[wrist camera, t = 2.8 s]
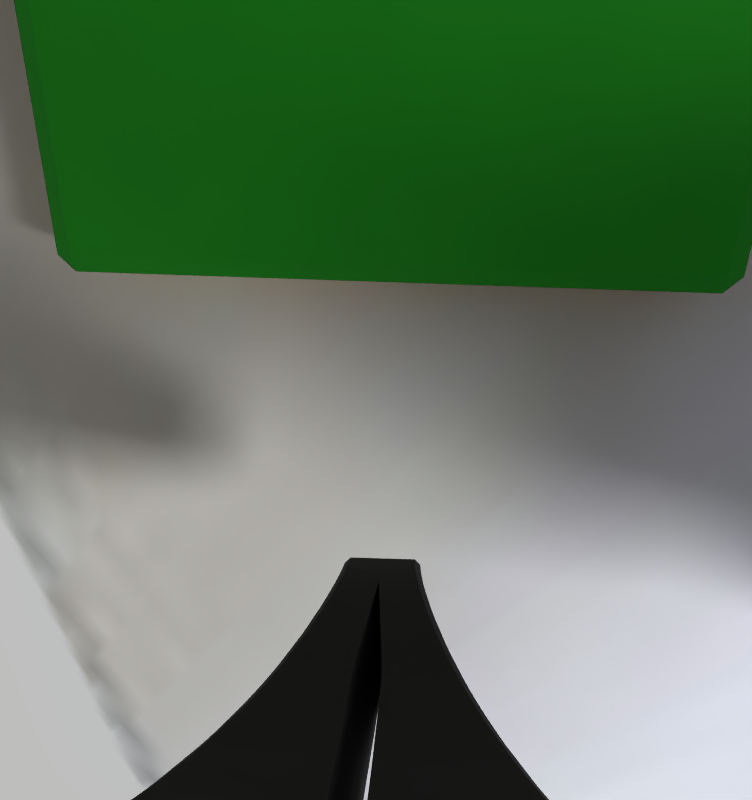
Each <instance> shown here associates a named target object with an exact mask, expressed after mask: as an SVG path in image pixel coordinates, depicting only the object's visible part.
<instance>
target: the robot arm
mask: <svg viewBox="0 0 752 800" xmlns="http://www.w3.org/2000/svg"><path fill="white" fill-rule="evenodd" d="M377 713H378V717H377ZM376 719H377V726H376V735H375V743H374V752H373V761H372V769H371V777H370V785H369V793H368V800H549V799H548V798H547V797H546V796H545V795H544V793H543V792H542V791H541V790H540V789H539V788H538V787H537V785H536V784H535V783H534V781H533V780H532V779H531V777H530V776H529V775H528V774H527V772H526V771H525V770H524V768H523V767H522V766H521V765H520V763H519V762H518V761H517V759H516V758H515V757H514V755H513V754H512V753H511V752H510V750H509V749H508V748H507V746H506V745H505V744H504V742H503V741H502V740H501V738H500V737H499V735H498V734H497V732H496V731H495V729H494V728H493V726H492V725H491V723H490V722H489V720H488V719H487V717H486V716H485V714H484V713H483V711H482V709H481V708H480V706H479V705H478V703H477V702H476V700H475V698H474V697H473V695H472V693H471V691H470V690H469V688H468V686H467V684H466V683H465V681H464V679H463V677H462V675H461V674H460V672H459V670H458V668H457V666H456V664H455V662H454V660H453V658H452V656H451V654H450V652H449V650H448V648H447V646H446V644H445V641H444V639H443V637H442V634H441V632H440V630H439V627H438V625H437V623H436V620H435V618H434V615H433V613H432V610H431V607H430V604H429V601H428V598H427V595H426V592H425V589H424V585H423V581H422V576H421V570H420V564H419V563H418V562H417V561H416V560H412V559H379V558H350V559H349V560H348V561H346V562H345V564H344V566H343V569H342V571H341V573H340V575H339V577H338V578H337V580H336V582H335V584H334V586H333V587H332V589H331V591H330V593H329V594H328V596H327V598H326V599H325V601H324V602H323V604H322V606H321V607H320V609H319V610H318V612H317V613H316V615H315V616H314V618H313V619H312V621H311V622H310V624H309V625H308V627H307V628H306V630H305V631H304V632H303V634H302V635H301V637H300V638H299V639H298V640H297V642H296V643H295V644H294V646H293V647H292V648H291V650H290V651H289V652H288V653H287V655H286V656H285V657H284V659H283V660H282V661H281V663H280V664H279V665H278V666H277V668H276V669H275V670H274V671H273V672H272V673H271V675H270V676H269V677H268V678H267V679H266V680H265V682H264V683H263V684H262V685H261V686H260V687H259V688H258V689H257V690H256V692H255V693H254V694H253V695H252V696H251V697H250V698H249V699H248V700H247V701H246V702H245V703H244V704H243V705H242V706H241V707H240V708H239V709H238V710H237V711H236V712H235V713H234V714H233V715H232V716H231V717H230V718H229V719H228V720H227V721H226V722H225V723H224V724H223V725H222V726H221V727H220V728H219V729H218V730H217V731H216V732H215V733H214V734H213V735H211V736H210V737H209V738H208V739H207V740H206V741H205V742H204V743H203V744H201V745H200V746H199V747H198V748H197V749H196V750H194V751H193V752H192V753H191V754H189V755H188V756H187V757H186V758H185V759H183V760H182V761H181V762H180V763H179V764H177V765H176V766H175V767H174V768H172V769H171V770H170V771H169V772H168V773H166V774H165V775H164V776H163V777H161V778H160V779H159V780H158V781H157V782H155V783H154V784H153V785H151V786H150V787H149V788H147V789H146V790H145V791H143V792H142V793H140V794H139V795H138V796H136V797H135V798H133V799H132V800H363V798H364V792H365V786H366V780H367V774H368V768H369V762H370V756H371V750H372V743H373V737H374V731H375V725H376Z"/></svg>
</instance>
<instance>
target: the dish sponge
mask: <svg viewBox="0 0 752 800" xmlns="http://www.w3.org/2000/svg"><path fill="white" fill-rule="evenodd" d="M14 3H15V9H16V15H17V21H18V26H19V32H20V38H21V44H22V50H23V55H24V61H25V67H26V73H27V79H28V84H29V90H30V96H31V102H32V108H33V113H34V119H35V125H36V131H37V137H38V142H39V148H40V154H41V160H42V166H43V171H44V177H45V183H46V189H47V195H48V200H49V206H50V212H51V218H52V224H53V229H54V235H55V241H56V247H57V253H58V255H59V256H60V257H61V258H62V259H63V260H65V261H66V262H67V263H68V264H69V265H70V266H71V267H72V268H73V269H74V270H75V271H83V272H112V273H142V274H171V275H200V276H230V277H259V278H288V279H318V280H347V281H376V282H406V283H435V284H464V285H494V286H523V287H552V288H582V289H611V290H640V291H670V292H699V293H723V292H724V291H726V290H727V289H728V288H730V287H731V286H732V285H734V284H735V283H736V282H738V281H739V280H740V279H742V278H743V277H744V274H745V270H746V266H747V262H748V258H749V253H750V249H751V245H752V0H14Z"/></svg>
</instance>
